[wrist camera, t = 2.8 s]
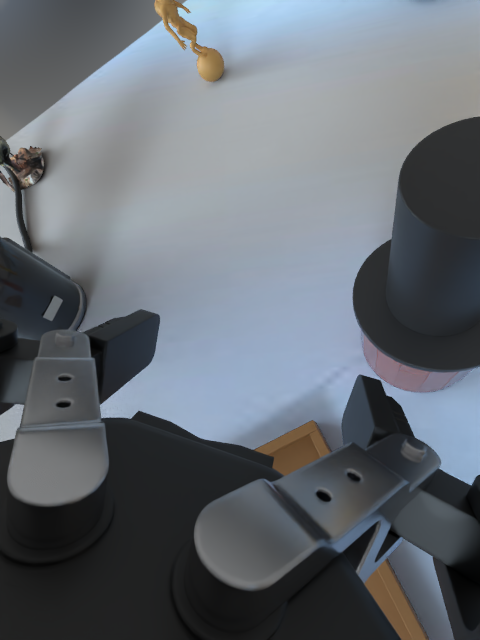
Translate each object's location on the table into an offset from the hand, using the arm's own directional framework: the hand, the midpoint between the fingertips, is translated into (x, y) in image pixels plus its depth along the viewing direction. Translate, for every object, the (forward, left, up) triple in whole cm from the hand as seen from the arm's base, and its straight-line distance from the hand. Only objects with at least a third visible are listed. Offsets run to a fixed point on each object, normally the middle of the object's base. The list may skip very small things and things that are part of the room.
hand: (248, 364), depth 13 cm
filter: (-2, +11, -11) cm, 16 cm away
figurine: (-51, +10, -19) cm, 55 cm away
